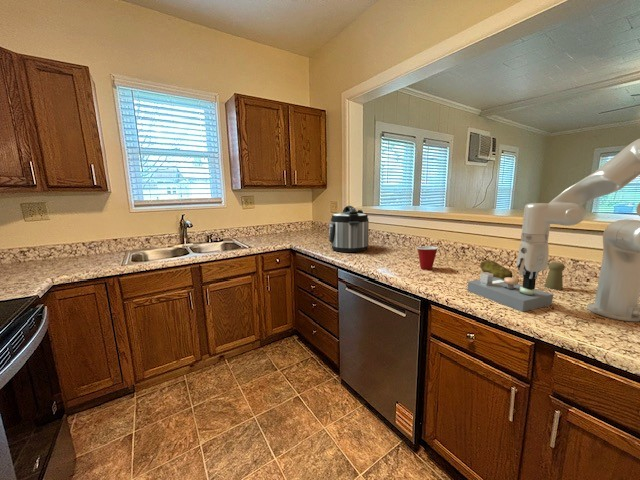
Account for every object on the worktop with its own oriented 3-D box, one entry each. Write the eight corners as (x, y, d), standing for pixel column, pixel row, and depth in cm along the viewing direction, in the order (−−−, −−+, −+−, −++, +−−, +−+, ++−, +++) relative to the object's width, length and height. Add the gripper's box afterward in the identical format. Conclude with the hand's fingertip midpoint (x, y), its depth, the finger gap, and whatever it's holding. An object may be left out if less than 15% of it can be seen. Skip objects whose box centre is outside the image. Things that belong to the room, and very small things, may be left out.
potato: (503, 282, 122) (505, 265, 120) (476, 275, 133) (477, 259, 132) (514, 280, 125) (516, 263, 124) (486, 273, 137) (488, 257, 135)
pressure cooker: (339, 244, 216) (339, 204, 211) (373, 247, 203) (374, 205, 198) (322, 251, 190) (321, 206, 185) (360, 255, 177) (361, 207, 172)
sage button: (536, 301, 97) (538, 289, 96) (528, 303, 96) (530, 291, 95) (523, 297, 101) (525, 285, 100) (515, 299, 100) (517, 287, 99)
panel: (551, 304, 98) (553, 293, 97) (522, 311, 92) (523, 300, 92) (494, 285, 118) (495, 276, 117) (467, 290, 113) (468, 281, 112)
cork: (544, 284, 119) (547, 260, 118) (562, 287, 116) (566, 262, 114) (544, 288, 115) (547, 263, 113) (563, 291, 111) (567, 265, 109)
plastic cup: (427, 265, 152) (428, 244, 150) (441, 270, 142) (442, 248, 140) (411, 266, 149) (412, 245, 147) (424, 272, 139) (425, 249, 137)
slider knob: (492, 283, 108) (493, 273, 107) (486, 284, 107) (487, 274, 106) (485, 281, 110) (486, 271, 110) (480, 282, 109) (480, 272, 109)
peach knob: (519, 291, 102) (521, 280, 102) (511, 293, 101) (513, 281, 100) (508, 287, 106) (509, 276, 106) (500, 289, 105) (501, 278, 104)
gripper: (531, 241, 88) (525, 294, 92) (560, 238, 94) (553, 288, 97) (508, 238, 95) (503, 287, 98) (536, 235, 101) (530, 282, 104)
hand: (528, 288), depth 98 cm, fingers closed
